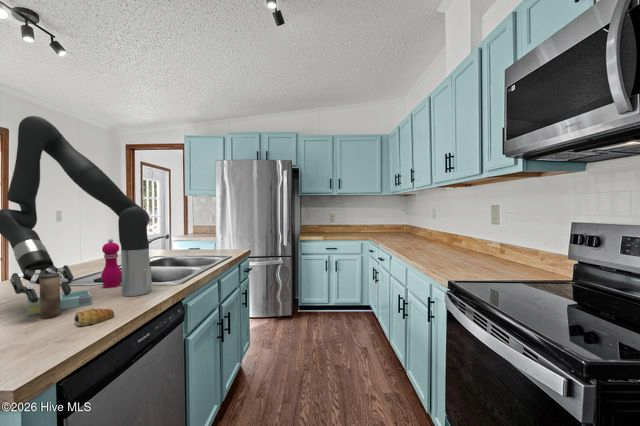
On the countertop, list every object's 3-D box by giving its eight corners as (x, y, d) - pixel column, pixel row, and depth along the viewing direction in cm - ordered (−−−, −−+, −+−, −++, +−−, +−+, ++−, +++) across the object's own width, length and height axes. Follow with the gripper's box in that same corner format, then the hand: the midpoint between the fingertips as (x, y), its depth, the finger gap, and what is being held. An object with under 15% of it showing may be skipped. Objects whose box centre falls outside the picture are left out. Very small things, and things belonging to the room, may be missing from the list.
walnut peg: (64, 312, 96) (62, 272, 96) (55, 318, 91) (53, 275, 91) (46, 314, 95) (45, 273, 94) (37, 319, 90) (35, 276, 90)
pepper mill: (99, 289, 123) (98, 240, 123) (103, 285, 130) (101, 238, 129) (121, 286, 127) (119, 239, 126) (123, 282, 133) (121, 237, 133)
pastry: (109, 314, 95) (109, 302, 95) (117, 319, 91) (117, 306, 91) (72, 323, 88) (71, 310, 88) (78, 329, 84) (78, 315, 83)
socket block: (88, 297, 112) (88, 288, 112) (91, 304, 104) (91, 294, 104) (28, 308, 101) (28, 298, 101) (26, 316, 93) (26, 305, 93)
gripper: (5, 252, 89) (25, 296, 85) (63, 246, 102) (83, 284, 98) (-2, 268, 92) (17, 312, 87) (56, 260, 105) (75, 298, 100)
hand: (52, 297), depth 92 cm, fingers open, 7 cm apart
